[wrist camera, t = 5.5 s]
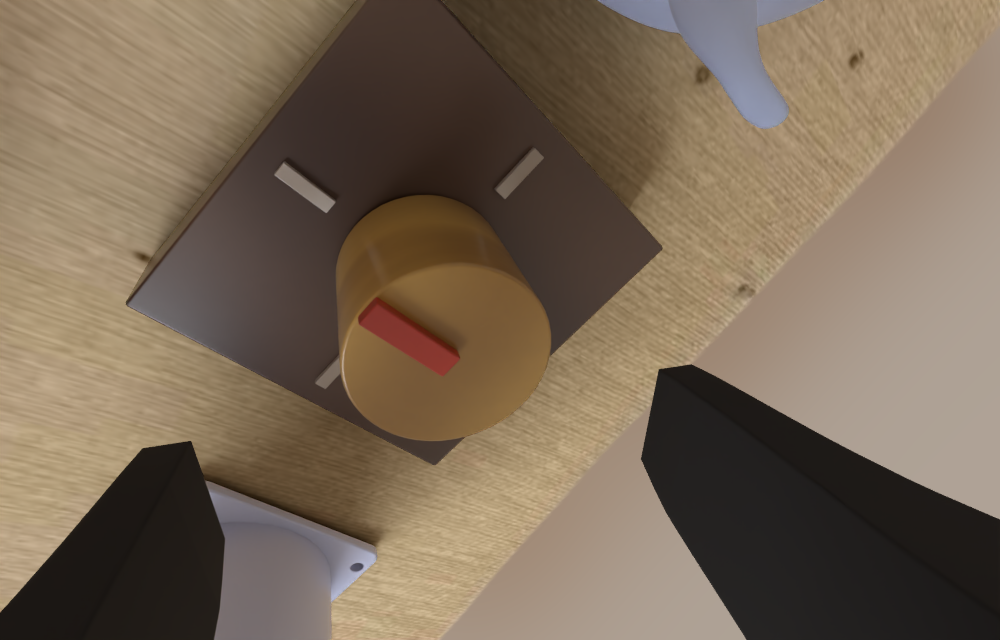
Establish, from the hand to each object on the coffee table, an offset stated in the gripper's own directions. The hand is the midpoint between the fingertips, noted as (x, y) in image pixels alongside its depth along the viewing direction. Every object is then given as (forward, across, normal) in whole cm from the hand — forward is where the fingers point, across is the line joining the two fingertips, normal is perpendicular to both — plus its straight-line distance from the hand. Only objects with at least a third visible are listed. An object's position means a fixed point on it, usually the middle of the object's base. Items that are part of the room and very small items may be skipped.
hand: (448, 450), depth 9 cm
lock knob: (+7, -1, 0) cm, 7 cm away
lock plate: (+9, -1, 0) cm, 9 cm away
